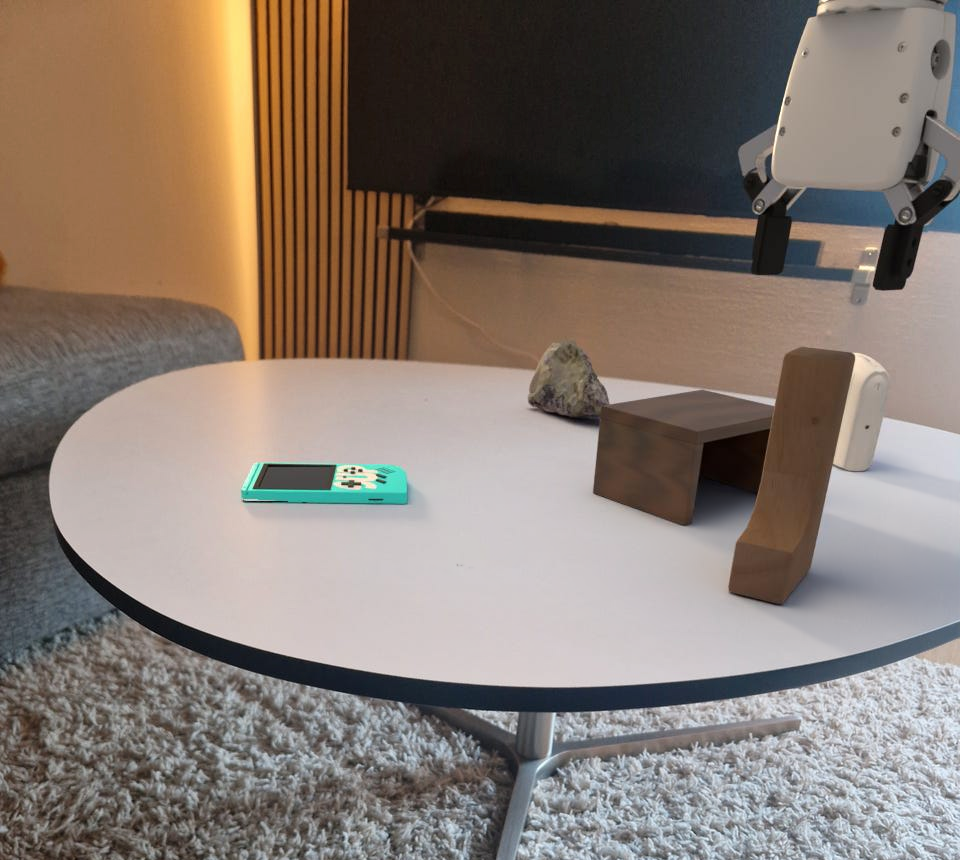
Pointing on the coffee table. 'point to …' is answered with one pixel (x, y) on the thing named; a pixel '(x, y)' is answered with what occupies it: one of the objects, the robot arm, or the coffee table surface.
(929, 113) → the robot arm
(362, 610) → the coffee table surface
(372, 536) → the coffee table surface
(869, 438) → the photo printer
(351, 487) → the handheld game console
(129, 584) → the coffee table surface
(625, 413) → the shelf
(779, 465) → the wooden block
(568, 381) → the mineral rock
